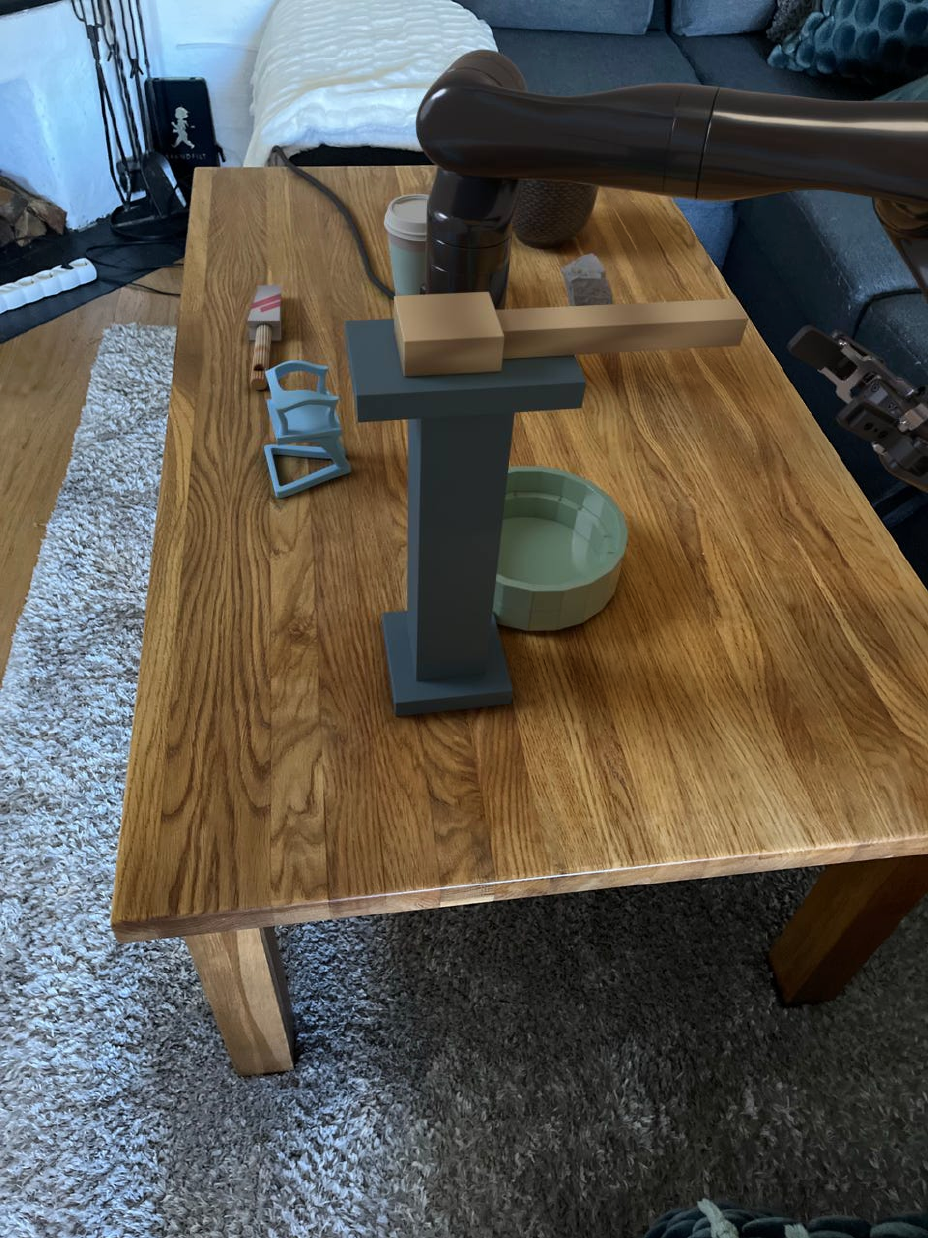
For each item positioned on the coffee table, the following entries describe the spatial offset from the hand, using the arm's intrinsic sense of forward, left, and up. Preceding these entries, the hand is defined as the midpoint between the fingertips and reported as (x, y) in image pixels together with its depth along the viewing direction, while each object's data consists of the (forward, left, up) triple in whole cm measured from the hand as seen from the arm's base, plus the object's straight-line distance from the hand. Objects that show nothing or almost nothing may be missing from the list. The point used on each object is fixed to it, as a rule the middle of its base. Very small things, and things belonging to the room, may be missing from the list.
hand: (821, 372), depth 65 cm
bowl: (-17, -8, -29) cm, 34 cm away
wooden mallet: (-9, -16, +3) cm, 19 cm away
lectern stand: (-13, -22, -29) cm, 38 cm away
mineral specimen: (-45, +27, -29) cm, 60 cm away
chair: (-42, -17, -29) cm, 54 cm away
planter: (-65, +38, -29) cm, 80 cm away
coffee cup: (-62, +13, -29) cm, 69 cm away
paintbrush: (-65, -8, -29) cm, 71 cm away
